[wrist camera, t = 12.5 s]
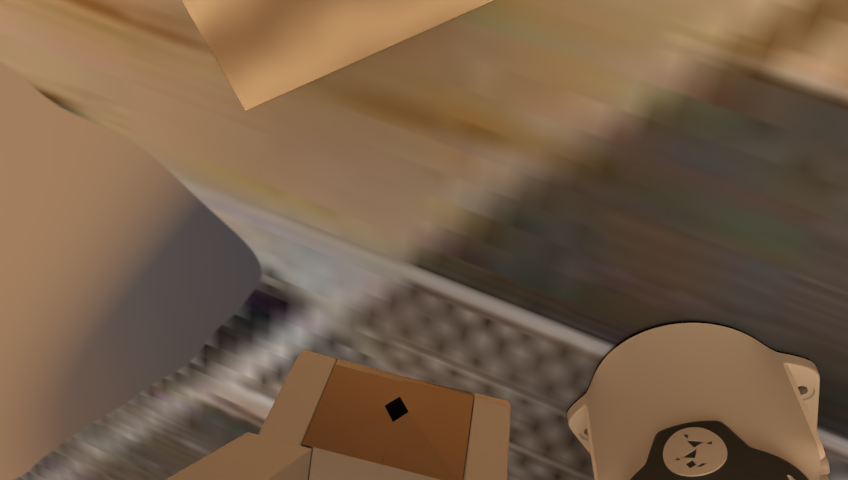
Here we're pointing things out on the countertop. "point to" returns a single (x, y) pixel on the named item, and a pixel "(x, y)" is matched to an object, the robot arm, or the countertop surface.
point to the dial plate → (307, 36)
